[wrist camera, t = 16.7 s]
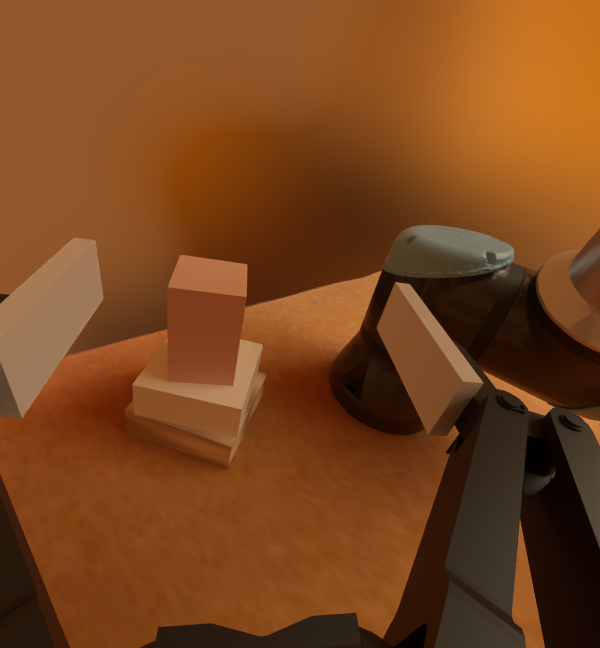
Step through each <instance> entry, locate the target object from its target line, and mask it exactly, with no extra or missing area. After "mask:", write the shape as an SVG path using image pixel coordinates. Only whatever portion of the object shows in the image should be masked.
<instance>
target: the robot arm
mask: <svg viewBox="0 0 600 648" xmlns="http://www.w3.org/2000/svg"><path fill="white" fill-rule="evenodd" d="M513 255H514V249H513V248H512V246H510V245H509V244H508V243H506V242H504V241H502V240H499V239H495V238H492V237H491V236H489V235H485V234H482V233H478V232H475V231H470V230H465V229H460V228H454V227H447V226H437V225H423V226H422V225H421V226H414V227H411V228H408V229H406V230H404V231H402V232H401V233H400V234H399V235H398V236H397V238H396V239H395V241H394V244H393V246H392V248H391V250H390V252H389V255H388V257H387V259H386V260H385V261H384V263H383V265H382V266H383V267H382V268H383V269H382V272H381V275H380V277H379V280H378V283H377V285H376V288H375V291H374V293H373V296H372V299H371V301H370V304H369V307H368V310H367V312H366V315H365V318H364V320H363V323H362V326H361V328H360V330H359V332H358V333H357V334H356V335H355V336H354V337H353V338H352V340H351V341H350V342H349V343H348V344H347V345H346V346H345V347H344V349H343V350H342V351H341V352H340V353H339V354H338V356H337V357H336V359H335V361H334V364H333V367H332V370H331V373H330V384H331V388H332V391H333V393H334V395H335V397H336V398H337V400H338V401H339V402H340V404H341V405H342V406H343V407H344V408H345V409H346V410H347V411H348V412H349V413H350V414H351V415H353V416H354V417H355V418H357V419H358V420H360V421H362V422H363V423H365V424H367V425H369V426H371V427H373V428H376V429H378V430H381V431H385V432H389V433H394V434H412V433H416V432H419V431H421V430H423V429H426V431H427V433H428V435H440V436H447V435H448V433H449V432H450V430H451V429H452V428H453V426H454V425H455V426H456V428H457V430H458V432H459V435H458V436H457V438H456V439H455V440H454V442H453V443H452V444H451V446H450V447H449V449H448V450H447V451H446V453H447V454H449V453H450V452H451V453H450V456H449V459H448V462H447V465H446V468H445V471H444V474H443V477H442V480H441V483H440V486H439V489H438V492H437V495H436V498H435V500H434V503H433V506H432V509H431V512H430V515H429V518H428V521H427V524H426V527H425V530H424V533H423V536H422V539H421V542H420V545H419V548H418V551H417V554H416V557H415V560H414V563H413V566H412V569H411V572H410V575H409V578H408V581H407V584H406V587H405V590H404V593H403V596H402V599H401V602H400V605H399V608H398V610H397V613H396V615H395V617H394V619H393V621H392V623H391V624H390V626H389V628H388V630H387V632H386V634H385V636H384V638H383V639H382V638H380V637H379V636H377V635H376V634H374V633H372V632H370V631H368V630H366V629H364V628H362V627H359V626H358V621H357V616H356V613H347V614H333V615H320V616H311V617H308V618H306V619H304V620H302V621H299V622H297V623H295V624H293V625H290V626H288V627H286V628H284V629H281V630H279V631H277V632H274V633H272V634H270V635H267V636H256V635H252V634H248V633H245V632H241V631H237V630H234V629H230V628H226V627H223V626H219V625H215V624H211V623H210V624H196V625H182V626H169V627H158V632H157V638H156V641H154V642H151V643H149V644H146V645H144V646H142V647H140V648H526V647H525V636H524V633H523V630H522V628H520V627H519V626H518V625H516V624H515V623H514V622H513V619H512V604H513V592H514V581H515V569H516V557H517V546H518V534H519V523H520V521H521V526H522V531H523V536H524V541H525V546H526V552H527V557H528V562H529V567H530V572H531V577H532V582H533V588H534V593H535V598H536V603H537V608H538V613H539V618H540V624H541V629H542V634H543V639H544V644H545V648H600V446H599V444H598V441H597V439H596V437H595V435H594V433H593V431H592V430H591V428H590V427H589V425H588V424H587V423H586V422H585V421H584V420H583V419H582V418H581V417H579V416H582V417H584V418H587V419H591V420H597V421H600V229H599V230H598V231H597V232H596V234H594V236H593V237H592V238H591V239H590V240H589V241H588V243H586V245H585V246H584V247H583V248H582V249H575V250H569V251H565V252H562V253H559V254H557V255H555V256H553V257H551V258H550V259H549V260H548V261H547V262H546V263H545V264H544V265H543V266H542V267H541V268H540V270H539V271H538V272H537V271H534V270H531V269H529V268H526V267H522V266H519V265H517V264H514V263H512V261H513V260H514V256H513ZM102 300H103V292H102V285H101V278H100V271H99V263H98V256H97V249H96V242H95V240H88V239H80V238H73V239H72V240H71V241H70V242H69V243H68V244H66V245H65V246H64V247H63V248H62V249H61V250H60V251H59V252H58V253H56V254H55V255H54V256H53V257H52V258H51V259H50V260H49V261H47V262H46V263H45V264H44V265H43V266H42V267H41V268H40V269H39V270H38V271H36V272H35V273H34V274H33V275H32V276H31V277H30V278H28V279H27V280H26V281H25V282H24V283H23V284H22V285H21V286H20V287H18V288H17V289H16V290H15V291H14V292H13V293H12V294H11V295H6V294H0V417H2V418H23V416H24V415H25V414H26V412H27V411H28V409H29V408H30V406H31V405H32V403H33V402H34V400H35V399H36V397H37V396H38V394H39V393H40V391H41V390H42V388H43V387H44V386H45V384H46V383H47V381H48V380H49V378H50V377H51V375H52V374H53V372H54V371H55V369H56V368H57V366H58V365H59V363H60V362H61V360H62V359H63V358H64V356H65V355H66V353H67V352H68V350H69V349H70V347H71V346H72V344H73V343H74V341H75V340H76V338H77V337H78V335H79V334H80V332H81V331H82V330H83V328H84V327H85V325H86V324H87V322H88V321H89V319H90V318H91V316H92V315H93V313H94V312H95V310H96V309H97V307H98V306H99V304H100V303H101V301H102ZM483 371H484V372H486V373H488V374H490V375H492V376H494V377H496V378H498V379H501V380H503V381H505V382H507V383H509V384H511V385H513V386H515V387H517V388H519V389H521V390H523V391H525V392H527V393H529V394H531V395H533V396H535V397H537V398H539V399H541V400H543V401H545V402H547V403H548V404H550V405H551V406H553V407H555V408H552V409H551V410H550V411H549V412H548V414H547V415H546V416H543V415H540V414H537V413H534V412H531V411H528V409H527V407H526V406H525V404H524V403H523V402H522V401H521V400H520V399H518V398H517V397H516V396H514V395H512V394H511V393H509V392H506V391H504V390H499V389H496V388H495V386H494V385H493V384H492V383H491V381H490V380H489V379H488V377H487V376H486V375H485V374H484V372H483ZM576 414H577V415H579V416H577V415H576ZM0 648H70V647H69V644H68V642H67V640H66V638H65V635H64V633H63V630H62V628H61V625H60V623H59V620H58V618H57V615H56V613H55V610H54V608H53V605H52V603H51V600H50V598H49V595H48V593H47V590H46V588H45V585H44V583H43V580H42V578H41V575H40V573H39V570H38V568H37V565H36V563H35V560H34V558H33V555H32V553H31V550H30V548H29V545H28V543H27V540H26V538H25V535H24V533H23V530H22V528H21V525H20V523H19V520H18V518H17V515H16V513H15V510H14V508H13V505H12V503H11V500H10V497H9V495H8V492H7V490H6V487H5V485H4V482H3V480H2V477H1V475H0Z"/></svg>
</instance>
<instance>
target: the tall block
mask: <svg viewBox="0 0 600 648" xmlns="http://www.w3.org/2000/svg"><path fill="white" fill-rule="evenodd" d="M246 293H247V264H240V263H234V262H227V261H220V260H213V259H206V258H199V257H192V256H186V255H181V256H180V258H179V260H178V263H177V265H176V268H175V270H174V273H173V275H172V278H171V280H170V283H169V285H168V381H170V382H185V383H199V384H213V385H228V386H233V385H234V378H235V372H236V365H237V358H238V351H239V344H240V338H241V331H242V324H243V317H244V310H245V304H246V295H247V294H246Z"/></svg>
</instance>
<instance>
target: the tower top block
mask: <svg viewBox="0 0 600 648" xmlns="http://www.w3.org/2000/svg"><path fill="white" fill-rule="evenodd" d="M262 349H263V344H259V343H255V342H250V341H246V340H242V339H240V344H239V351H238V358H237V365H236V372H235V378H234V385H233V386H228V385H213V384H199V383H185V382H170V381H168V337H167V339H166V340H165V341H164V343H163V344H162V345H161V347H160V348H159V349H158V351H157V352H156V353H155V355H154V356H153V357H152V359H151V360H150V361H149V363H148V364H147V365H146V367H145V368H144V369H143V371H142V372H141V373H140V375H139V376H138V377H137V379H136V380H135V381H134V383H133V384H132V390H133V402H134V414H135V415H138V416H143V417H147V418H152V419H156V420H161V421H165V422H169V423H174V424H178V425H183V426H187V427H192V428H196V429H200V430H205V431H209V432H214V433H218V434H223V435H227V436H232V437H236V438H237V436H238V433H239V430H240V427H241V424H242V421H243V417H244V414H245V411H246V408H247V405H248V402H249V398H250V395H251V392H252V389H253V386H254V383H255V379H256V376H257V373H258V370H259V364H260V359H261V354H262Z"/></svg>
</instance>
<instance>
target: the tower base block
mask: <svg viewBox="0 0 600 648" xmlns="http://www.w3.org/2000/svg"><path fill="white" fill-rule="evenodd" d="M266 377H267V374H266V373H263V372H260V371H258V373H257V376H256V379H255V383H254V386H253V389H252V392H251V395H250V398H249V402H248V405H247V408H246V411H245V414H244V417H243V421H242V424H241V427H240V430H239V433H238V436H237V438H236V437H232V436H227V435H223V434H218V433H214V432H209V431H205V430H200V429H196V428H192V427H187V426H183V425H178V424H174V423H169V422H165V421H161V420H156V419H152V418H147V417H143V416H138V415H135V414H134V402H133V401H132V402H131V403H130V404H129V405H128V406H127V407H126V408H125V409H124V414H125V424H126V433H127V434H130V435H133V436H135V437H138V438H141V439H144V440H147V441H150V442H152V443H155V444H158V445H161V446H164V447H167V448H170V449H172V450H175V451H178V452H181V453H184V454H187V455H189V456H192V457H195V458H198V459H201V460H204V461H206V462H209V463H212V464H215V465H218V466H221V467H224V468H226V469H228V468H229V466H230V464H231V461H232V459H233V457H234V455H235V453H236V451H237V449H238V446H239V444H240V442H241V440H242V438H243V436H244V434H245V431H246V429H247V427H248V425H249V423H250V421H251V419H252V416H253V414H254V412H255V410H256V408H257V406H258V404H259V401H260V399H261V397H262V395H263V391H264V386H265V382H266Z"/></svg>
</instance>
